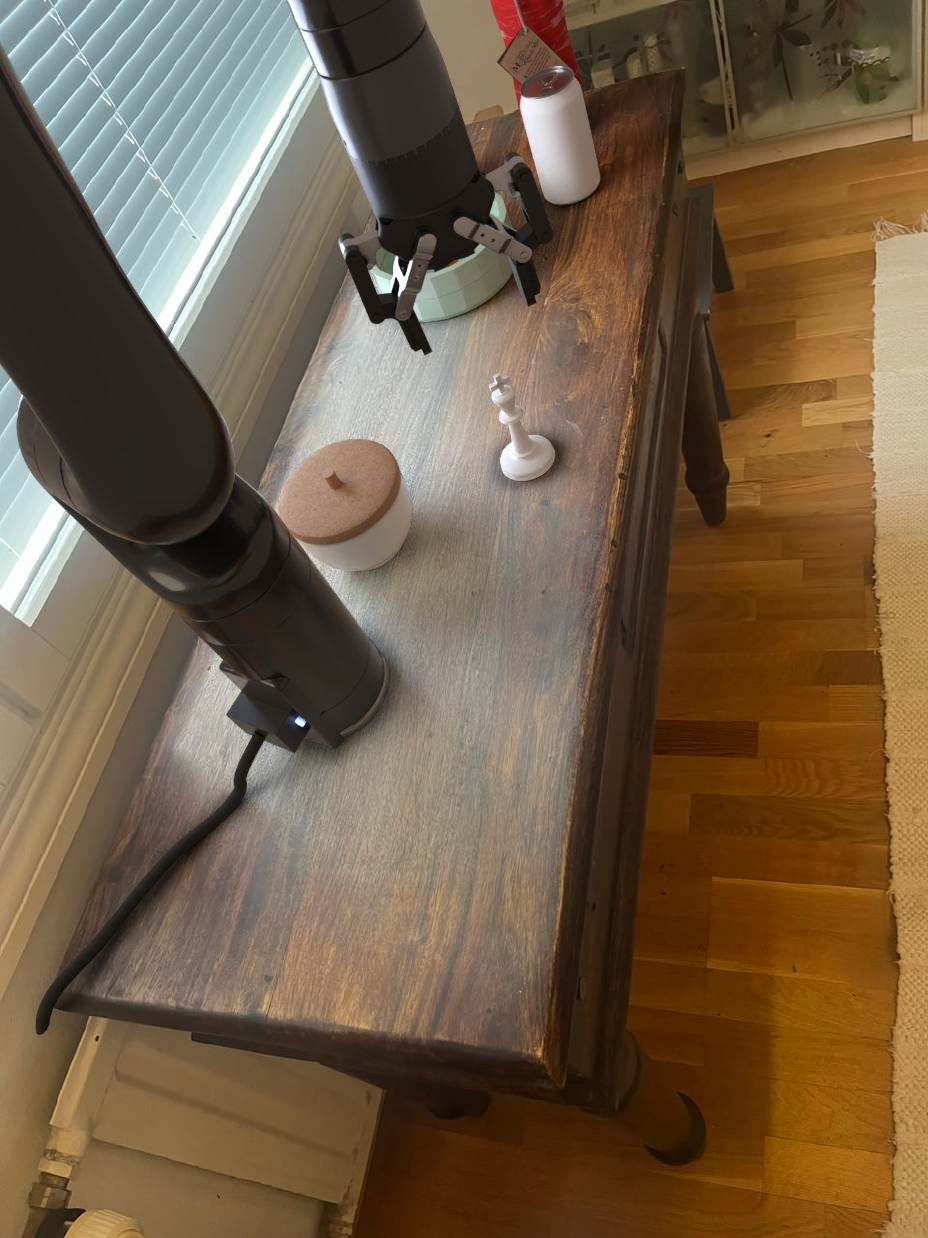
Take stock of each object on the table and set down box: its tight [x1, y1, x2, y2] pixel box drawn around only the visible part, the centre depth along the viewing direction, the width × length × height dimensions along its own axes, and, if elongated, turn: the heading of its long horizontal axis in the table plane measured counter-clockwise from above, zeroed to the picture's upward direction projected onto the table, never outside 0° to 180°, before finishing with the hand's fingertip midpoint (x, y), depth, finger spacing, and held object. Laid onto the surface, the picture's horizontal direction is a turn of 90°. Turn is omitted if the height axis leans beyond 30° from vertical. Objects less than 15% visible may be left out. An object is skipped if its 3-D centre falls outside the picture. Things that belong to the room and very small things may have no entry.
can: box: [520, 66, 601, 207], centre depth 98 cm, size 6×6×12 cm
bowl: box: [368, 192, 513, 323], centre depth 99 cm, size 16×16×6 cm
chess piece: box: [488, 372, 556, 482], centre depth 78 cm, size 5×5×10 cm
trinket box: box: [277, 438, 413, 572], centre depth 79 cm, size 11×11×9 cm
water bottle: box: [489, 0, 588, 129], centre depth 100 cm, size 12×8×25 cm, turn 166°
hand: (477, 323), depth 70 cm, fingers open, 8 cm apart
